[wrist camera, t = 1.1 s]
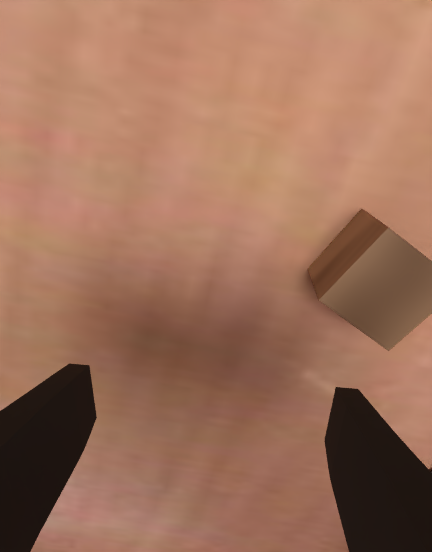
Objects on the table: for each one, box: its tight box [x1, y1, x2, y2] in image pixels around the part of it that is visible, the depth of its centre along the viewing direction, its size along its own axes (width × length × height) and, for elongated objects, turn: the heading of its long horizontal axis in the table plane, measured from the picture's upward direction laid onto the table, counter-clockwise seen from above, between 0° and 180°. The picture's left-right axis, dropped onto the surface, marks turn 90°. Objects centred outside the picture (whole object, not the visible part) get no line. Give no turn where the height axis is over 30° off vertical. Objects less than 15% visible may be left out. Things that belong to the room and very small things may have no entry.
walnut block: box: [308, 209, 432, 351], centre depth 16 cm, size 4×4×4 cm
